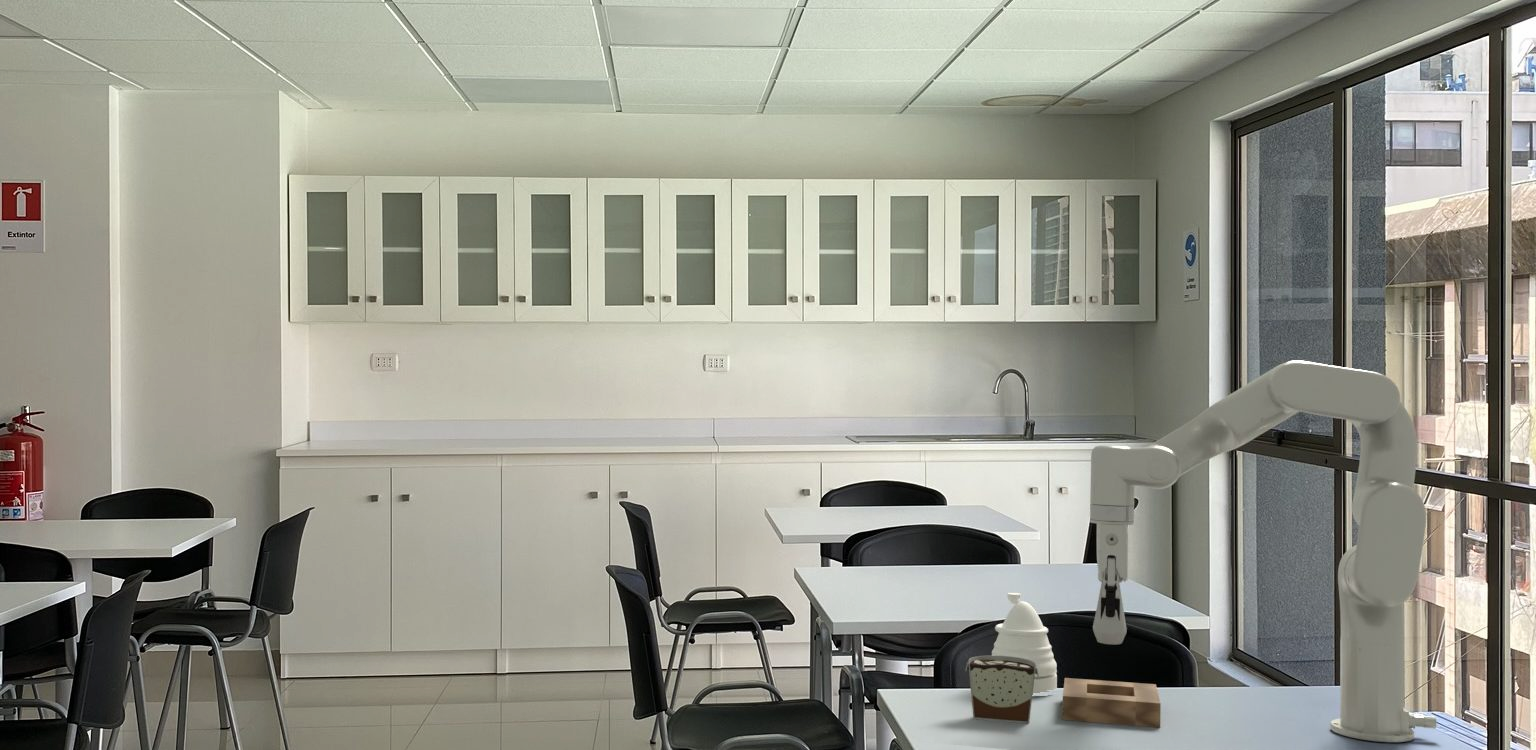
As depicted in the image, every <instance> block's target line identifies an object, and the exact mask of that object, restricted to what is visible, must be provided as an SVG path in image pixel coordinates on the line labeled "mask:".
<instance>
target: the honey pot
mask: <svg viewBox="0 0 1536 750" xmlns="http://www.w3.org/2000/svg"><path fill="white" fill-rule="evenodd" d="M1006 595H1007V598H1008V601H1009V602H1010V603H1011V604H1013V606H1012V608H1011V609H1010V610H1009V612H1008V613H1007V615H1006V617H1005V619H1004V621H1003V623H999V624H996V625H995V627H994V629H995V631H996V632H997V633H998V634H997V638H996V641H995V642H994V643H993V649H992V650H991V656H1011V657H1018V658H1024V659H1028V660H1031V661H1033V662H1035V663H1036V667H1037V670H1038V675H1039V677H1038V675H1037V674H1035V678H1034V687H1033V693H1040V692H1049V691H1047V690H1054V689H1057V690H1058V684H1057V683H1058V675H1057V673H1058V670H1057V666H1058V665H1057V662H1056V660H1055V658H1054V653H1053V651H1052V648H1053V646H1052V645H1051V644H1050V641H1049V638H1048V635H1047V634H1048V633H1049V628H1048V627H1046V626H1044V624H1043V622H1042V620H1041V618H1040V616H1039V614H1038V612H1037V611H1036V609H1035V608H1034V607H1033V606H1032V605H1031V604H1030V603H1029V602H1028V601H1022V600H1021V596H1022V593H1019V592H1007V594H1006Z"/></svg>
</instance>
